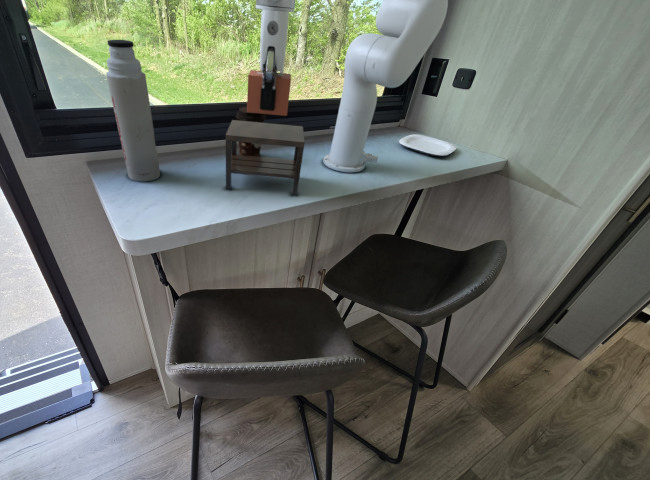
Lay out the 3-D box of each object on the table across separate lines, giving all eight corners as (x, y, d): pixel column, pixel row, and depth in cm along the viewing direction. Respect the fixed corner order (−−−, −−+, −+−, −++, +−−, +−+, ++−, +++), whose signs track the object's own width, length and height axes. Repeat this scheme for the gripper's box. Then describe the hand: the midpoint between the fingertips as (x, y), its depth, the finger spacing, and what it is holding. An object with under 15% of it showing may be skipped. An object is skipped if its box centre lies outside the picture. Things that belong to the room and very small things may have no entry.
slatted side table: (295, 176, 91) (302, 126, 82) (296, 195, 82) (304, 142, 73) (232, 170, 91) (232, 119, 82) (226, 189, 82) (225, 134, 73)
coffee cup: (265, 152, 102) (268, 107, 94) (262, 162, 96) (265, 114, 87) (237, 150, 103) (238, 103, 94) (233, 159, 97) (233, 111, 88)
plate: (459, 150, 118) (461, 145, 117) (442, 162, 107) (444, 157, 106) (412, 136, 126) (413, 132, 125) (392, 146, 116) (393, 141, 114)
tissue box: (249, 105, 77) (250, 69, 72) (286, 108, 77) (290, 73, 72) (246, 112, 72) (248, 74, 67) (286, 116, 72) (291, 78, 67)
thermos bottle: (125, 181, 81) (93, 41, 62) (131, 168, 87) (104, 36, 68) (157, 182, 82) (136, 44, 63) (162, 169, 88) (143, 39, 69)
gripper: (296, 2, 55) (283, 118, 68) (294, 1, 68) (284, 98, 80) (252, -2, 55) (248, 114, 67) (258, -2, 68) (254, 95, 80)
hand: (267, 105), depth 74 cm, fingers closed on tissue box, 6 cm apart
